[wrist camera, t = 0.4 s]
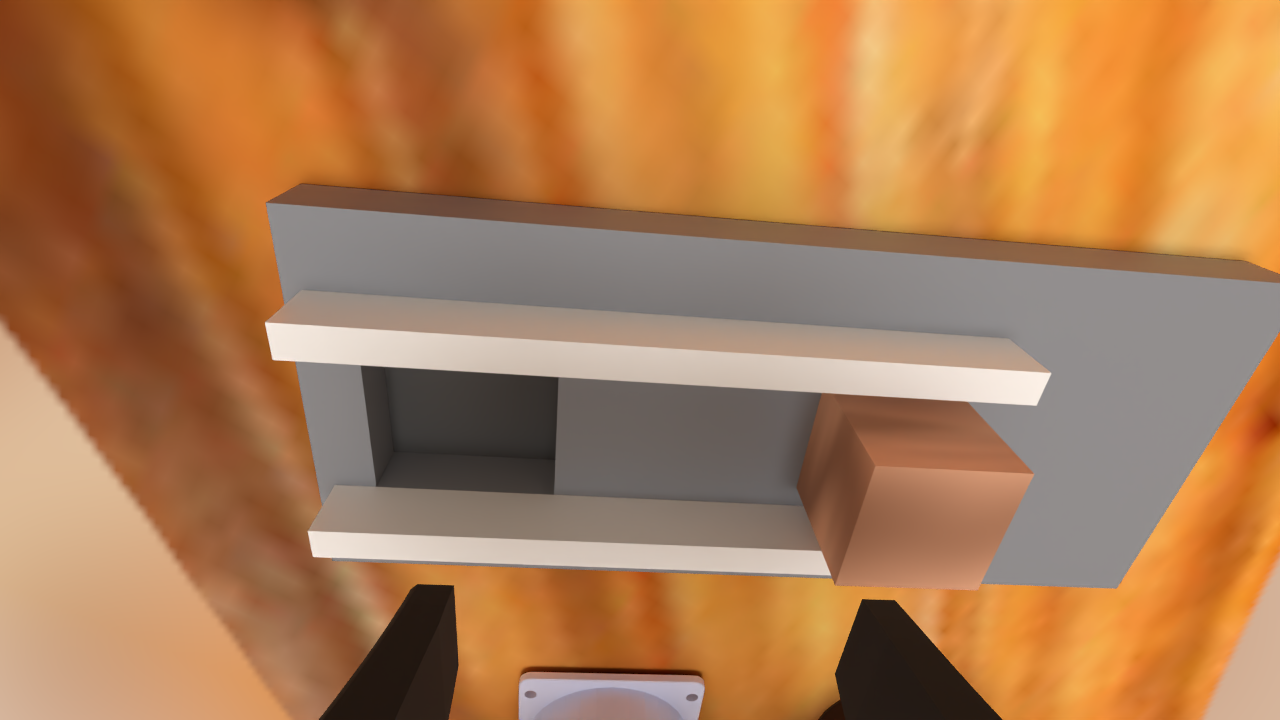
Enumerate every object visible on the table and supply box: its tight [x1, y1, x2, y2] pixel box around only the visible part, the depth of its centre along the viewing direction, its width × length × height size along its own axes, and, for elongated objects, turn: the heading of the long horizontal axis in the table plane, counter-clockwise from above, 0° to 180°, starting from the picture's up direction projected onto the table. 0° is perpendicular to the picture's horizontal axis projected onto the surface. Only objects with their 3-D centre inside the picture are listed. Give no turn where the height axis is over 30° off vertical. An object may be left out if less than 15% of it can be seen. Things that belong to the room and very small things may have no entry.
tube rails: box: [265, 290, 1051, 575], centre depth 18 cm, size 8×20×2 cm, turn 85°
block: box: [796, 393, 1034, 590], centre depth 18 cm, size 4×4×4 cm
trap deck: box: [266, 184, 1280, 588], centre depth 20 cm, size 12×28×2 cm, turn 85°
